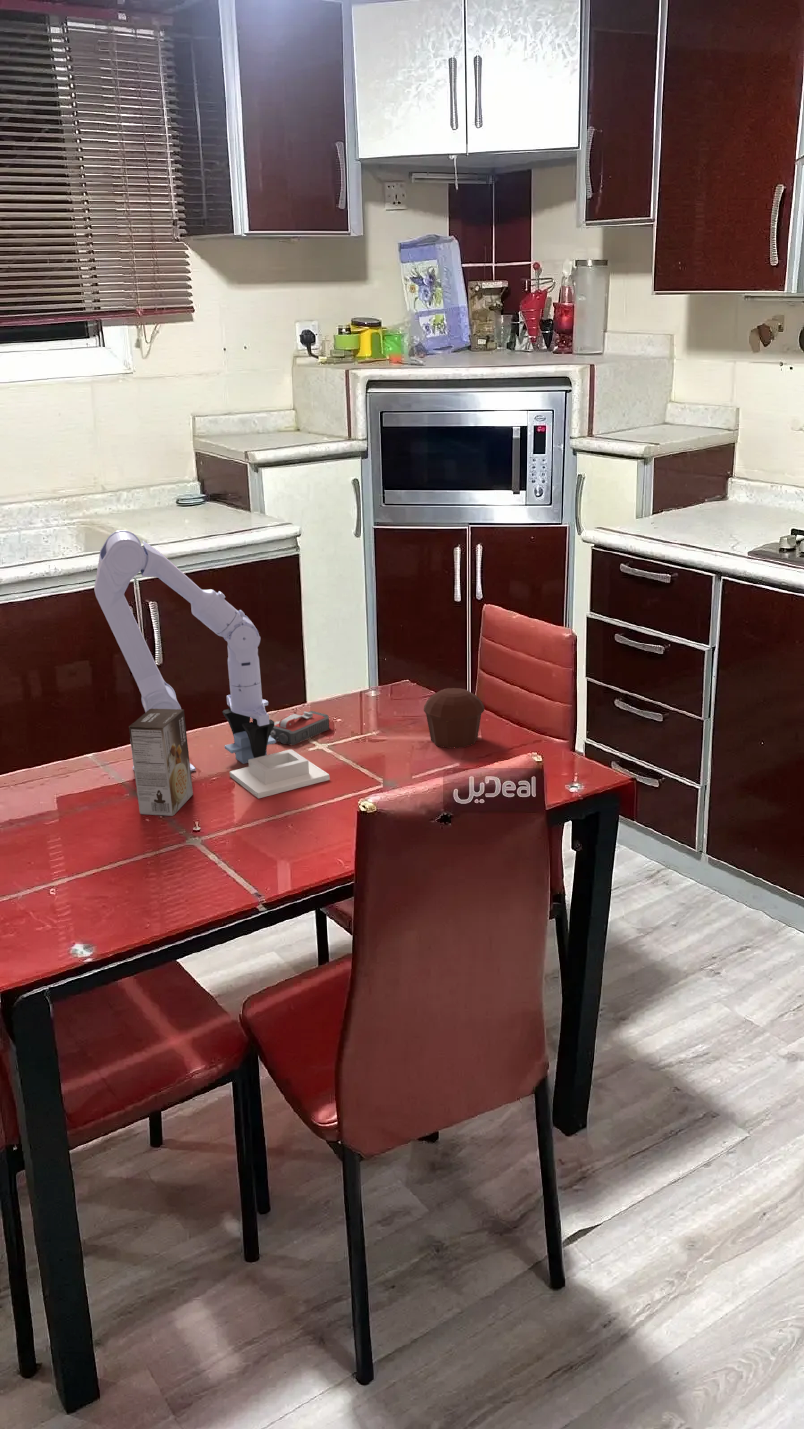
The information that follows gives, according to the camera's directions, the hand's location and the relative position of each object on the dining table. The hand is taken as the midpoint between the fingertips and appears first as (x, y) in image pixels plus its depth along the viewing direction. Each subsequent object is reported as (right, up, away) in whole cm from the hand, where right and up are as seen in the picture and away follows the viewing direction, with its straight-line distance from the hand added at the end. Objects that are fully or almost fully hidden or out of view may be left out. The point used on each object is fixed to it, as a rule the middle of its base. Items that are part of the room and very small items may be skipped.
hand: (250, 750), depth 218 cm
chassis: (+6, -5, -9) cm, 12 cm away
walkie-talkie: (+6, +2, +10) cm, 12 cm away
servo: (0, -1, 0) cm, 2 cm away
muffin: (+39, +2, +6) cm, 39 cm away
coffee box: (-12, -9, -19) cm, 24 cm away
